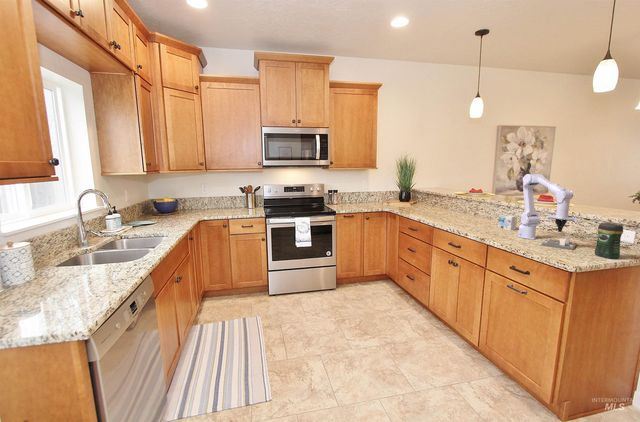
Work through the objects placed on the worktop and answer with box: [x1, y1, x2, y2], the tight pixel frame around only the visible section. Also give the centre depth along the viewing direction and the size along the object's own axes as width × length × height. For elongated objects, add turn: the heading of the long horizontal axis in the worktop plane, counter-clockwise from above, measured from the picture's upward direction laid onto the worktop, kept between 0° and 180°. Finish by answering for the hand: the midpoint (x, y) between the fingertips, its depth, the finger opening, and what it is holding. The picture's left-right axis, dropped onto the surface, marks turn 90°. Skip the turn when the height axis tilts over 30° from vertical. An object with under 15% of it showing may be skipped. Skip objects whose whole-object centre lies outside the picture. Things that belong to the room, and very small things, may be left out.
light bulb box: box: [497, 214, 518, 231], centre depth 232 cm, size 11×7×11 cm, turn 25°
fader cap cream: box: [559, 238, 566, 246], centre depth 180 cm, size 2×3×4 cm
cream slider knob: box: [563, 236, 571, 244], centre depth 185 cm, size 2×3×4 cm
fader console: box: [541, 238, 578, 251], centre depth 185 cm, size 15×18×2 cm
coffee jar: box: [594, 222, 624, 260], centre depth 160 cm, size 10×8×19 cm
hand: (559, 231), depth 181 cm, fingers closed
